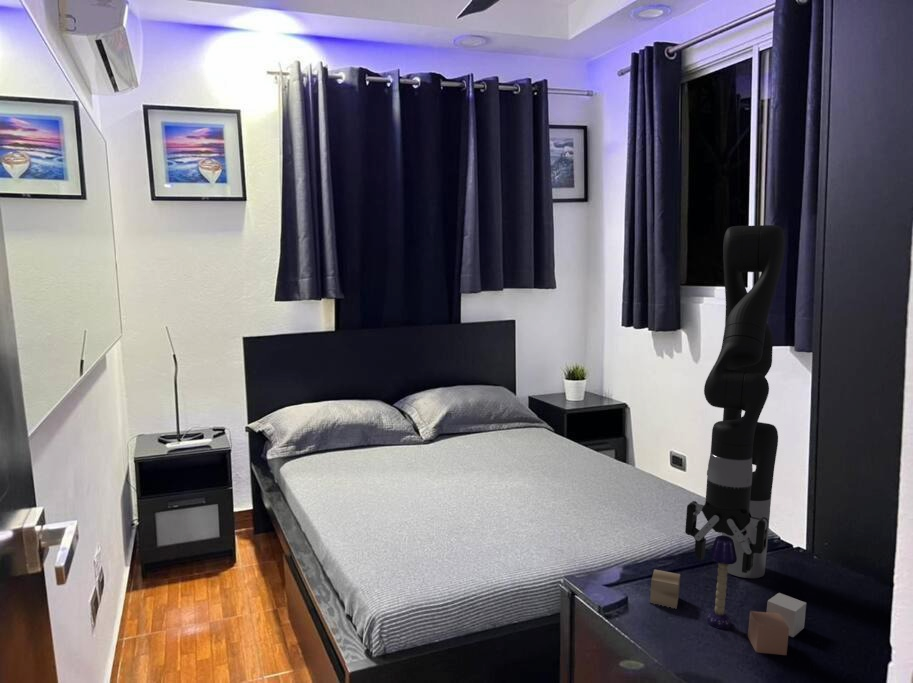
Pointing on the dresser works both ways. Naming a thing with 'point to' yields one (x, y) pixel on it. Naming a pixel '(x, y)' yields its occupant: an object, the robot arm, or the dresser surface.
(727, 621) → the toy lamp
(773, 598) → the off-white block
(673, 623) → the dresser surface
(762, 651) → the terracotta block
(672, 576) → the oak block
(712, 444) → the robot arm
